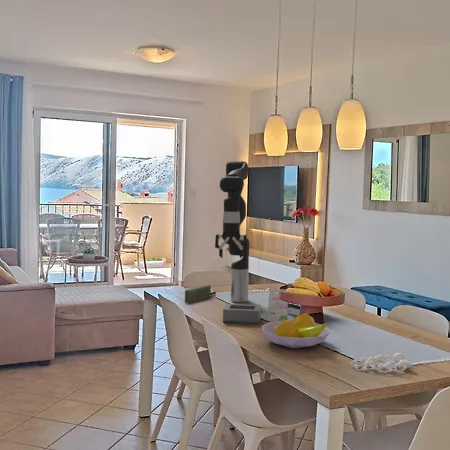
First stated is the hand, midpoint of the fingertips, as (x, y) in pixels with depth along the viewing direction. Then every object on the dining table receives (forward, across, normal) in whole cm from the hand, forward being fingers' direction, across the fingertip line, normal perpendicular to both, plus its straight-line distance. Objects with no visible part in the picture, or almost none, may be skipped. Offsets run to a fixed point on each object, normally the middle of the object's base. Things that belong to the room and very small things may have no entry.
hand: (231, 257), depth 251 cm
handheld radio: (+30, +20, -48) cm, 59 cm away
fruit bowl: (+29, -28, +31) cm, 51 cm away
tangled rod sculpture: (+29, -57, +56) cm, 85 cm away
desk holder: (+29, -5, -3) cm, 30 cm away
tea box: (+29, -34, -21) cm, 50 cm away
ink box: (+29, -21, -6) cm, 37 cm away
